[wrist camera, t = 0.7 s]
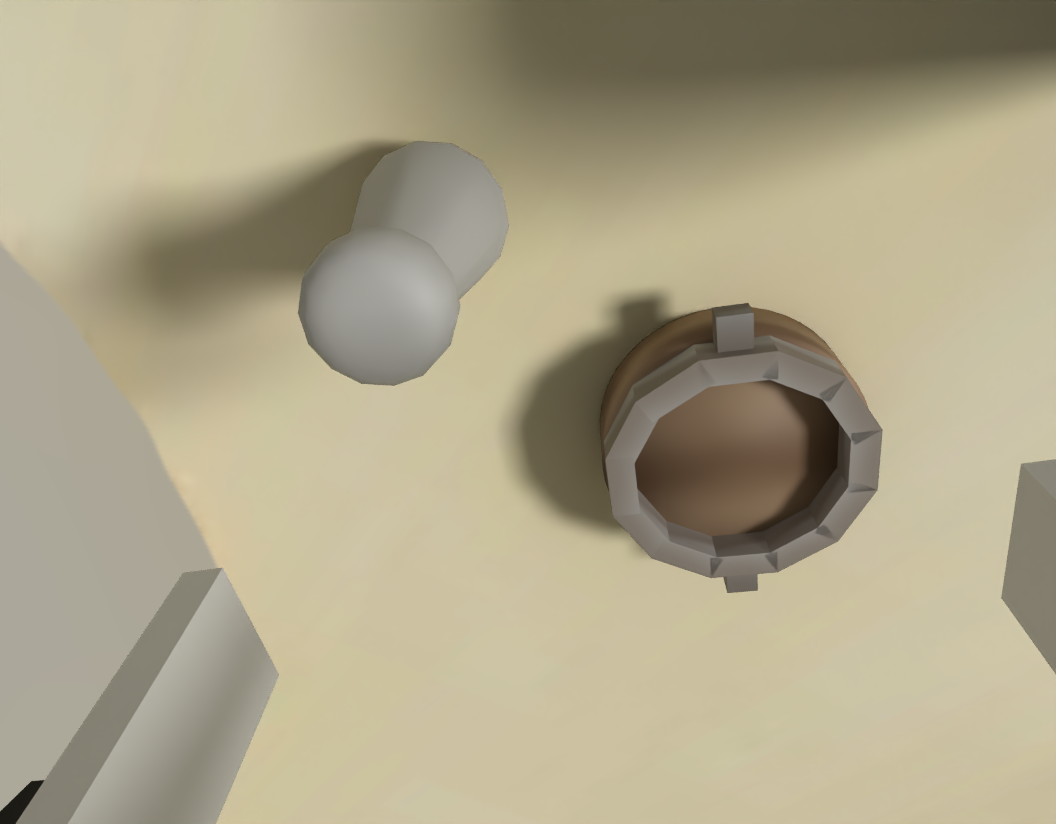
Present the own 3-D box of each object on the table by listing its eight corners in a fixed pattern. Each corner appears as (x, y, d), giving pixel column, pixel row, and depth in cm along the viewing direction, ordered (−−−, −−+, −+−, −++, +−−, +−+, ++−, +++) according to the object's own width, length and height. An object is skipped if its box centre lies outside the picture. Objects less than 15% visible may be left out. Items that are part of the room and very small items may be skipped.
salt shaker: (452, 297, 32) (390, 458, 21) (346, 210, 31) (217, 334, 19) (541, 198, 30) (524, 320, 19) (431, 97, 28) (341, 165, 17)
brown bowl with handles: (582, 298, 32) (584, 339, 28) (857, 260, 31) (899, 299, 27) (615, 548, 39) (620, 609, 35) (841, 526, 38) (873, 588, 34)
